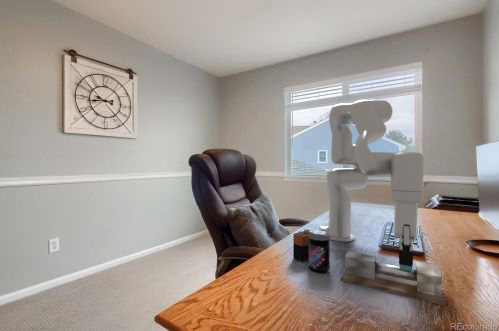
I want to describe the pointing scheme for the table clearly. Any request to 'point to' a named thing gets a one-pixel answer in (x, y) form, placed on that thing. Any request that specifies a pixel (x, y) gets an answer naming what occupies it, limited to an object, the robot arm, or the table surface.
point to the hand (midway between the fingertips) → (405, 262)
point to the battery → (301, 245)
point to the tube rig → (394, 278)
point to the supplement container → (319, 253)
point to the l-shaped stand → (397, 270)
